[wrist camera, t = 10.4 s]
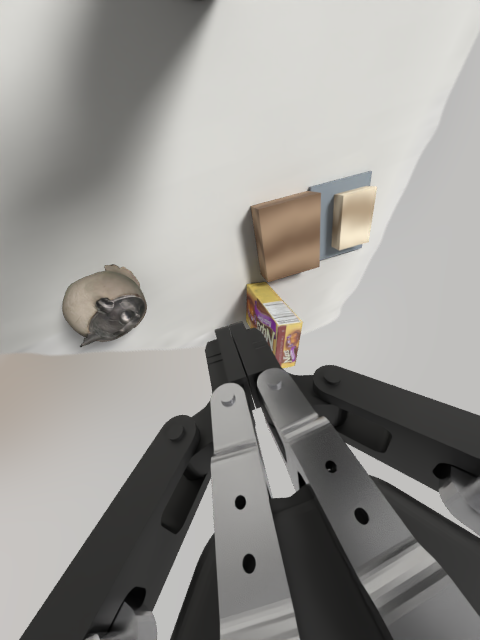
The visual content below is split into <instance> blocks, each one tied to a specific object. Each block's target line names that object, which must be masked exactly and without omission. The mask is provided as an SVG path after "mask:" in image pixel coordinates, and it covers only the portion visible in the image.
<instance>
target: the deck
mask: <svg viewBox="0 0 480 640" xmlns="http://www.w3.org/2000/svg"><path fill="white" fill-rule="evenodd" d="M251 212H252V219H253V225H254V232H255V239H256V245H257V252H258V259H259V265H260V272H261V275H262V276H263V277H264V278H265V279H266V280H267V282H270V281H274V280H277V279H280V278H284V277H287V276H290V275H294V274H297V273H300V272H304V271H307V270H310V269H314V268H317V267H319V264H320V215H321V193H320V192H312V191H306V192H302V193H298V194H294V195H291V196H287V197H283V198H279V199H276V200H272V201H268V202H264V203H261V204H257V205H253V206H251Z"/></svg>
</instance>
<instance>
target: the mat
mask: <svg viewBox="0 0 480 640" xmlns="http://www.w3.org/2000/svg"><path fill="white" fill-rule="evenodd" d="M371 174H372V171H368V172H365V173H361V174H357V175H353V176H350V177H346V178H342V179H338V180H334V181H331V182H327V183H323V184H319V185H315V186H312V187H309V191H312V192H320V193H321V215H320V260H322V259H326V258H329V257H333V256H336V255H339V254H343V253H346V252H349V251H353V250H356V249H359V248H362V244H360V245H356V246H353V247H350V248H346V249H343V250H337V249H335V248H333V247H331V243H332V226H333V208H334V194H338V193H341V192H345V191H349V190H353V189H357V188H360V187H364V186H370V182H371Z"/></svg>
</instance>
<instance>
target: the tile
mask: <svg viewBox="0 0 480 640" xmlns="http://www.w3.org/2000/svg"><path fill="white" fill-rule="evenodd" d="M376 190H377V187H374V186H364V187H360V188H357V189H353V190H349V191H345V192H341V193H338V194H334V208H333V226H332V243H331V247H333V248H335V249H337V250H343V249H346V248H350V247H353V246H356V245H360V244H363V243H367V242H369V236H370V229H371V223H372V216H373V210H374V203H375V197H376Z"/></svg>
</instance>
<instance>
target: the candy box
mask: <svg viewBox="0 0 480 640" xmlns="http://www.w3.org/2000/svg"><path fill="white" fill-rule="evenodd" d="M246 321H247V323H248V325H249V326H250V328H254V327H255V328H256V329H258V330H259V331H261V332H262V334H263V336H264V337H265V340H266V341H267V343H268V345H269V346H270V348H271V350H272V352H273V353H274V355H275V357H276V359H277V361H278V362H279V364H280V366H281V367H282V368H287V367H291V366H295V362H296V357H297V351H298V346H299V340H300V335H301V329H302V323H303V322H302V321H301V320H300V319H299V318H298V317H297V315H296V314H295V313H294V312H293V311H292V310H291V309H290V308H289V307H288V306H287V305H286V303H285V302H284V301H283V300H282V299H281V298H280V297H279V296H278V295H277V294H276V293H275V292H274V291H273V289H272V288H271V287H270V286H269V285H268V284H267V283H266V282H261V283H251V284H247V311H246Z"/></svg>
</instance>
